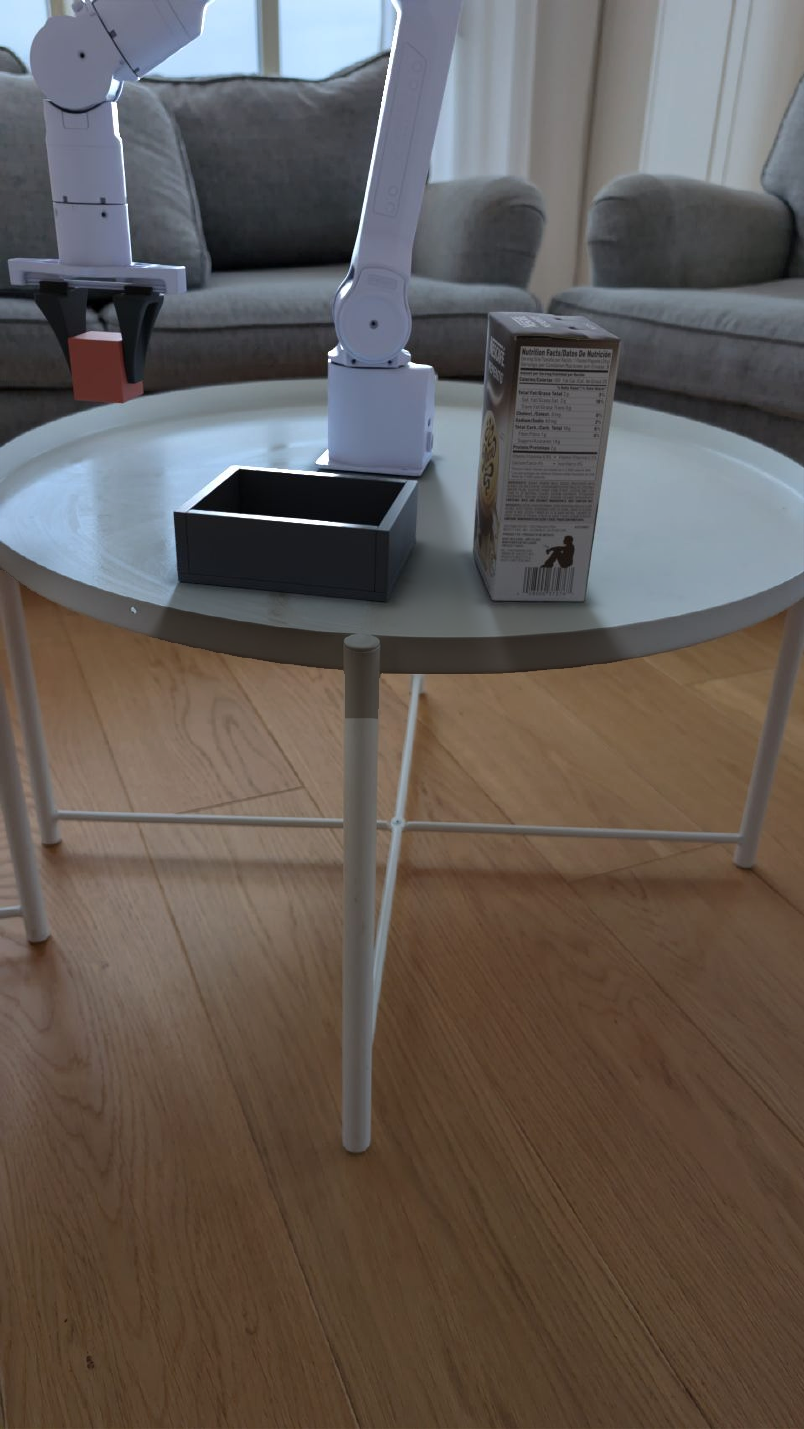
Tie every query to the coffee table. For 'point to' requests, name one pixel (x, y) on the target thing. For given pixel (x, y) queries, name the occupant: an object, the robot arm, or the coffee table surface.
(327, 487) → the open box
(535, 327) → the grey cardboard tall box
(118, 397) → the block
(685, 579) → the coffee table surface
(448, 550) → the coffee table surface
